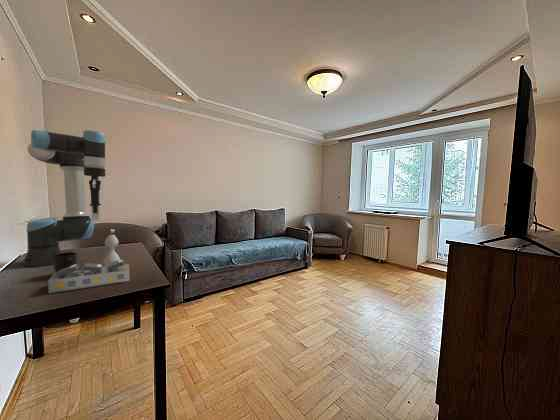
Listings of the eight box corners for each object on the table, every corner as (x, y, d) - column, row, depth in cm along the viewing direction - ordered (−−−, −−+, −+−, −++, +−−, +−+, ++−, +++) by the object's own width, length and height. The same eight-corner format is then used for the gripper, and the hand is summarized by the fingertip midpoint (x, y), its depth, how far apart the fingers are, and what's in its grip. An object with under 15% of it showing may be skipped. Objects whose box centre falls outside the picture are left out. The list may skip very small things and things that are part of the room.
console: (54, 284, 98) (54, 271, 97) (129, 274, 112) (128, 262, 112) (48, 293, 89) (47, 279, 89) (129, 281, 104) (129, 268, 103)
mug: (57, 281, 101) (56, 259, 100) (51, 274, 108) (50, 254, 107) (81, 276, 107) (81, 255, 107) (74, 270, 115) (73, 251, 114)
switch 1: (61, 273, 97) (59, 269, 96) (78, 266, 100) (76, 263, 99) (58, 277, 92) (56, 273, 92) (77, 270, 95) (75, 266, 95)
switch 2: (84, 266, 101) (85, 262, 101) (101, 268, 104) (102, 264, 104) (82, 270, 96) (84, 265, 97) (100, 271, 100) (101, 267, 100)
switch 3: (108, 267, 105) (107, 263, 105) (124, 262, 108) (122, 258, 108) (108, 270, 101) (106, 266, 101) (124, 265, 104) (122, 261, 104)
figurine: (99, 268, 118) (98, 229, 117) (116, 264, 125) (115, 227, 124) (107, 271, 114) (106, 231, 113) (124, 267, 121) (123, 229, 120)
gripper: (85, 167, 107) (86, 218, 109) (81, 165, 96) (83, 222, 98) (106, 168, 111) (106, 217, 113) (104, 167, 100) (105, 222, 103)
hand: (95, 219), depth 106 cm, fingers closed
